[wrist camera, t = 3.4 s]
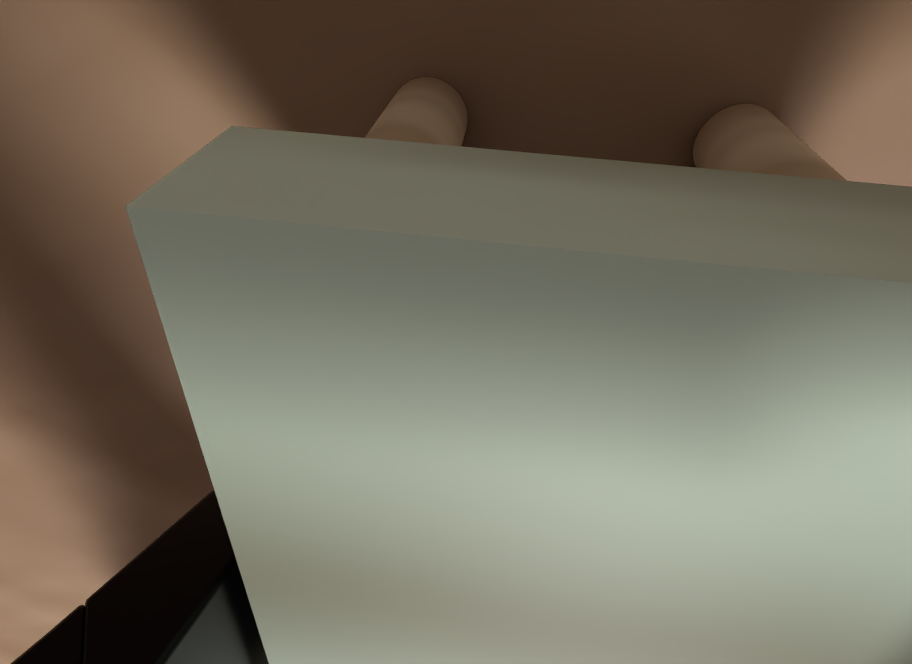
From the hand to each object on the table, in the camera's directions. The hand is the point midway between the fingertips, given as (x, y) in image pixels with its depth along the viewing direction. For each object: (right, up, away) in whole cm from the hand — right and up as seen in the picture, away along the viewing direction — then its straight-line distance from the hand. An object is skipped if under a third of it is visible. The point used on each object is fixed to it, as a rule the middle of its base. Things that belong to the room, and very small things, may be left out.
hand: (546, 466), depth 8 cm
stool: (0, +2, +3) cm, 3 cm away
